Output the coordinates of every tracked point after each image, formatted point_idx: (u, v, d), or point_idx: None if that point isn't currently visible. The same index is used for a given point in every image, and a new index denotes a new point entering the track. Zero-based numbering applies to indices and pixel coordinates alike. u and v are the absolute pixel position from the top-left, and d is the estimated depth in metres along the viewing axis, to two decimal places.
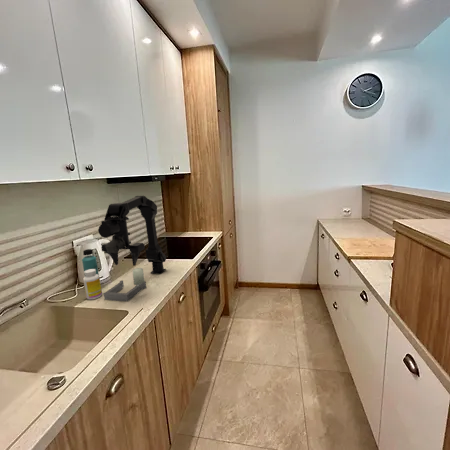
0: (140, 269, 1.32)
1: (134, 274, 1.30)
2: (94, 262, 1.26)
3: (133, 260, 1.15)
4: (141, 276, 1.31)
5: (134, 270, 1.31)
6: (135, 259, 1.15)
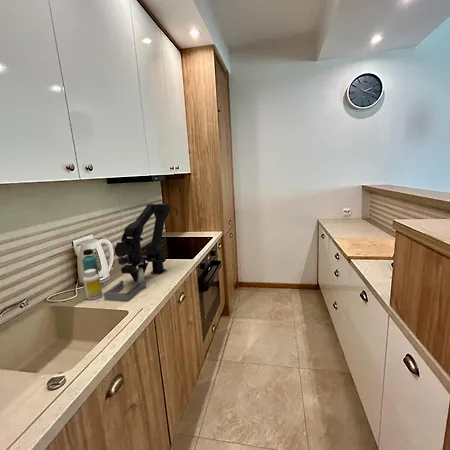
0: (140, 269, 1.32)
1: None
2: (94, 262, 1.26)
3: None
4: (141, 276, 1.31)
5: None
6: (133, 277, 1.29)
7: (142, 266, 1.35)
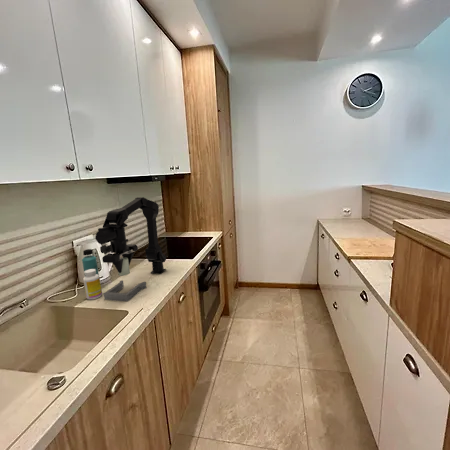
0: (125, 259, 1.20)
1: None
2: (94, 262, 1.26)
3: None
4: (126, 266, 1.19)
5: None
6: (117, 267, 1.17)
7: (127, 256, 1.22)
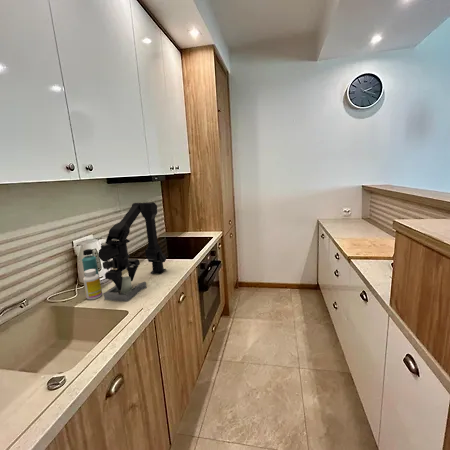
0: (127, 278, 1.22)
1: None
2: (94, 262, 1.26)
3: None
4: (128, 285, 1.21)
5: None
6: (117, 284, 1.16)
7: (131, 269, 1.26)
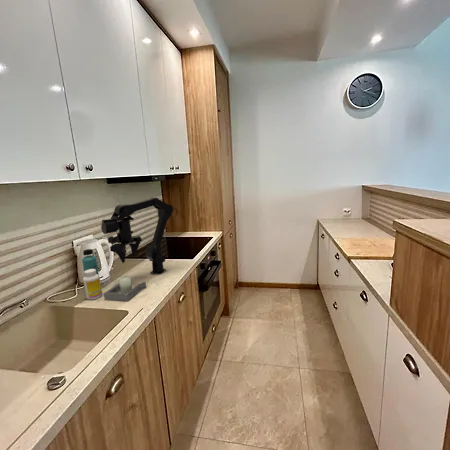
0: (127, 278, 1.22)
1: (121, 283, 1.20)
2: (94, 262, 1.26)
3: None
4: (128, 285, 1.21)
5: (121, 279, 1.21)
6: (121, 257, 1.27)
7: (134, 245, 1.36)
